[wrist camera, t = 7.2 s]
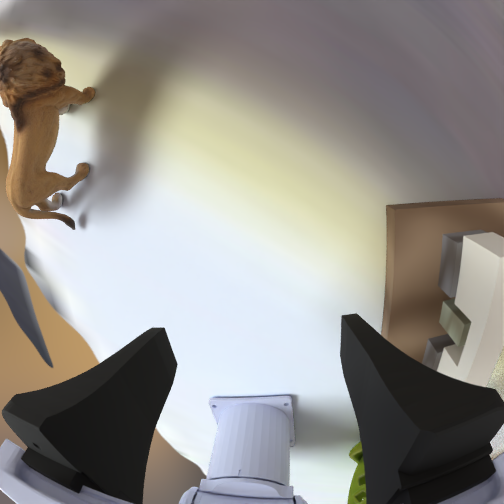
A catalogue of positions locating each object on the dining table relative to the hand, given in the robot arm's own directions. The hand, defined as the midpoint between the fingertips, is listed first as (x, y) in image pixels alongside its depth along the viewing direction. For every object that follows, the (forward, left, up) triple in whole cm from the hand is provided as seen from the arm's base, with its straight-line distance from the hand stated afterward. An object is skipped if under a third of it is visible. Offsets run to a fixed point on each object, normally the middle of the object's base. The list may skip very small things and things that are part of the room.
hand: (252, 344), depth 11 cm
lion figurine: (+12, +14, -10) cm, 21 cm away
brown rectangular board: (-6, -15, -9) cm, 18 cm away
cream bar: (-6, -15, -6) cm, 17 cm away
